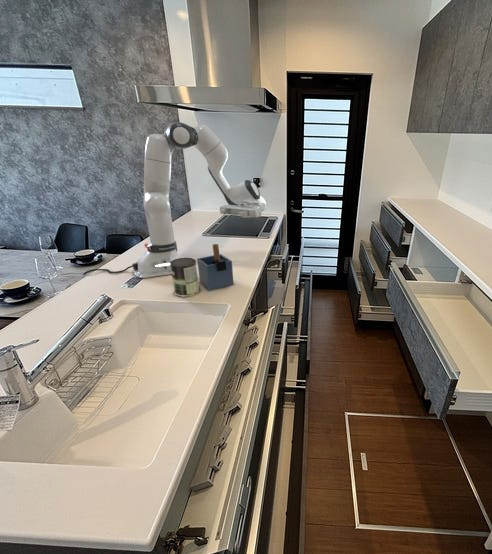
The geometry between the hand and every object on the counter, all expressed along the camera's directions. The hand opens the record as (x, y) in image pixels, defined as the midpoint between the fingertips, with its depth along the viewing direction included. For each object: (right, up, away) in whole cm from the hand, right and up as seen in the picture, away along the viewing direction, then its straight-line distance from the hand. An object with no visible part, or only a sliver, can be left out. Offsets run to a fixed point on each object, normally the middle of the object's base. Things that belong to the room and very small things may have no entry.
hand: (231, 213), depth 143 cm
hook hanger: (-3, -32, -6) cm, 33 cm away
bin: (-6, -33, -1) cm, 34 cm away
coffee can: (-17, -37, -10) cm, 42 cm away
